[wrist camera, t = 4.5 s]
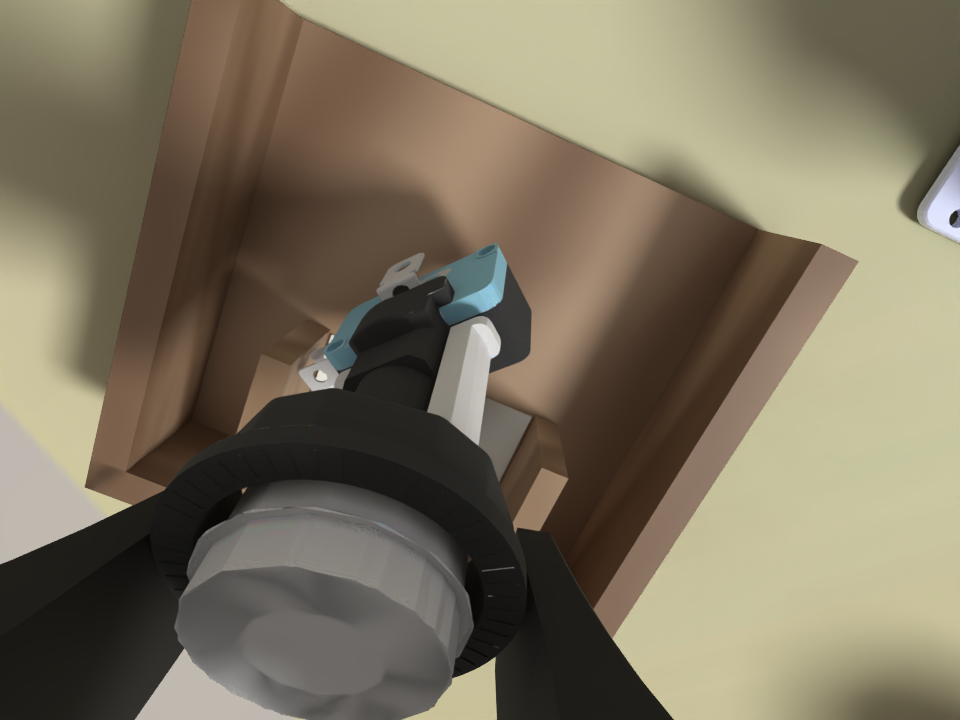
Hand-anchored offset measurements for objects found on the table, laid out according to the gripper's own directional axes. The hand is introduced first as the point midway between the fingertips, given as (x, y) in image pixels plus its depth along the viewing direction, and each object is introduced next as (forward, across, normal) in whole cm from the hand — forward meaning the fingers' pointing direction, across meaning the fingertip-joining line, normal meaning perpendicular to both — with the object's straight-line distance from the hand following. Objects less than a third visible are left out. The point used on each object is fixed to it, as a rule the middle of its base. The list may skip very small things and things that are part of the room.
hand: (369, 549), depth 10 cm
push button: (+7, 0, -3) cm, 7 cm away
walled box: (+9, 0, -2) cm, 9 cm away
